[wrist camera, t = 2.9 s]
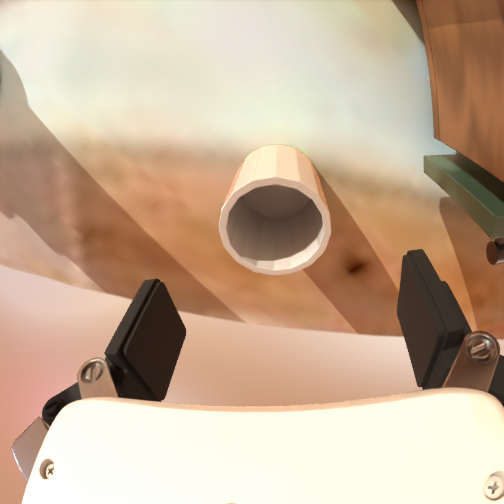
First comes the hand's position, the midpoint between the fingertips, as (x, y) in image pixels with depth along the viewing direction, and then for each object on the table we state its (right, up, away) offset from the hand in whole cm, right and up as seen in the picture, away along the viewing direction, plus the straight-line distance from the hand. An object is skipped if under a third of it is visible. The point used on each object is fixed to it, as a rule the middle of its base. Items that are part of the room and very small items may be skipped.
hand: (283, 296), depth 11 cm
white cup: (+1, +6, +9) cm, 11 cm away
